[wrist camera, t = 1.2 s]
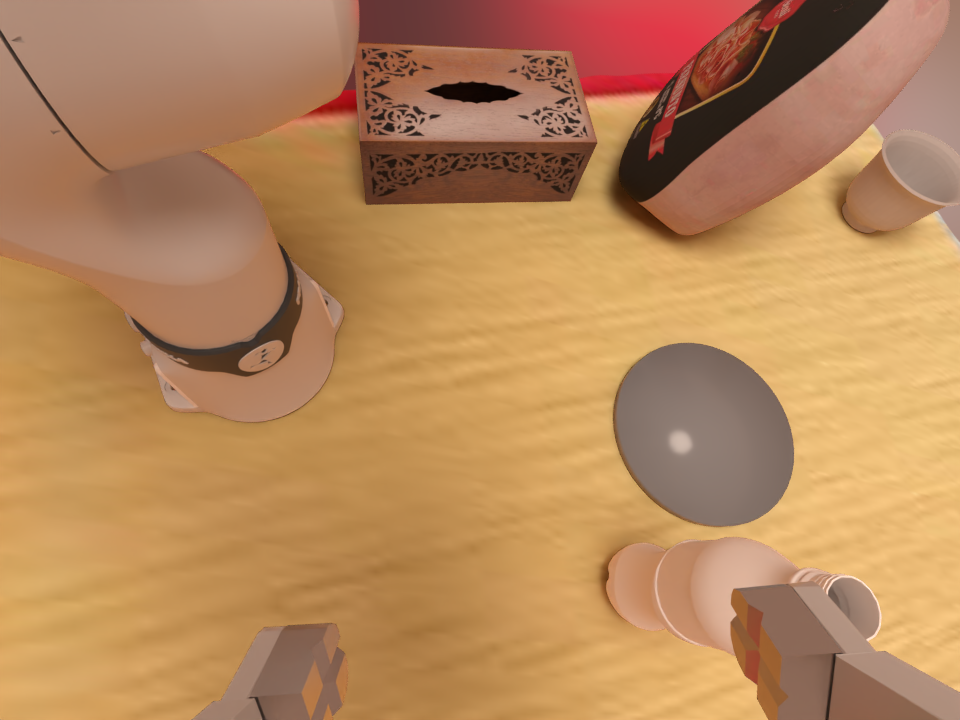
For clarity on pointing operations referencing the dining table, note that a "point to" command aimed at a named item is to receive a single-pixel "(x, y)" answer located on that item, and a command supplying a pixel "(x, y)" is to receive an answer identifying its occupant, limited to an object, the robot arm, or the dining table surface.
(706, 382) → the plate
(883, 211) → the teacup
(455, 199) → the tissue box cover
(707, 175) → the packaged food
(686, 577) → the water bottle
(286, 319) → the robot arm
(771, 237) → the dining table surface
